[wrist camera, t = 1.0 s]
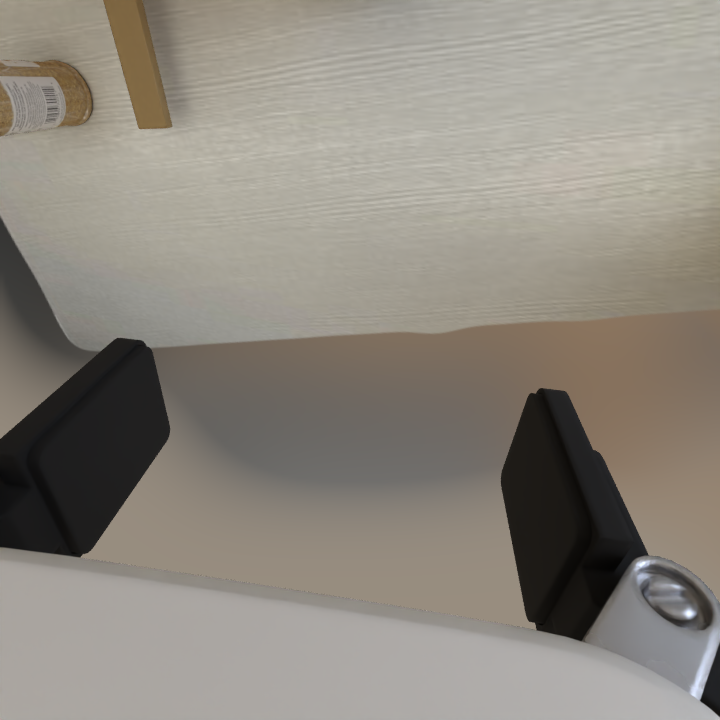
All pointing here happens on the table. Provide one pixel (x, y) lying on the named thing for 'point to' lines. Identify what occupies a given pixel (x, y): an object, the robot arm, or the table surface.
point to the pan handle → (138, 62)
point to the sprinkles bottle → (41, 96)
